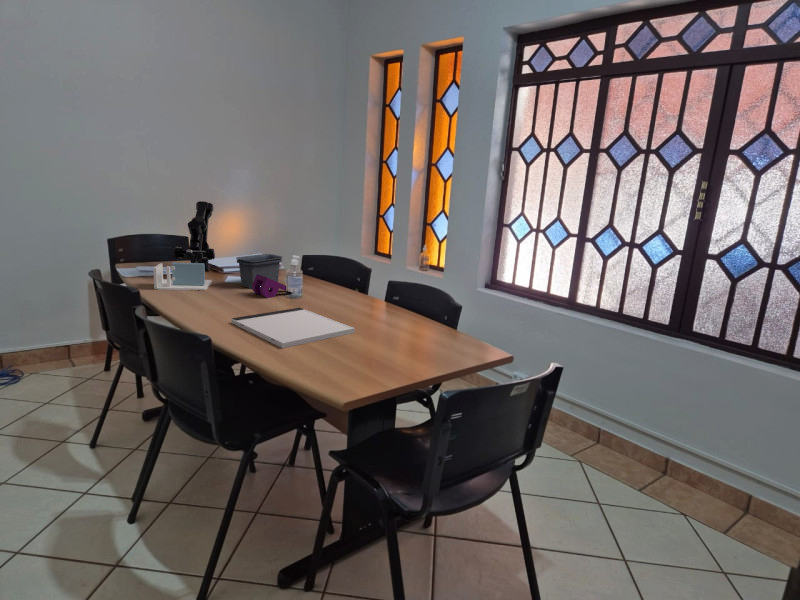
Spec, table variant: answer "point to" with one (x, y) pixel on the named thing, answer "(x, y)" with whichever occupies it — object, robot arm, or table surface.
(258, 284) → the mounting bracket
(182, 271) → the door panel
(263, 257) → the storage bin
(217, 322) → the table surface
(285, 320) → the white flat slab
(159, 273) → the cabinet base
